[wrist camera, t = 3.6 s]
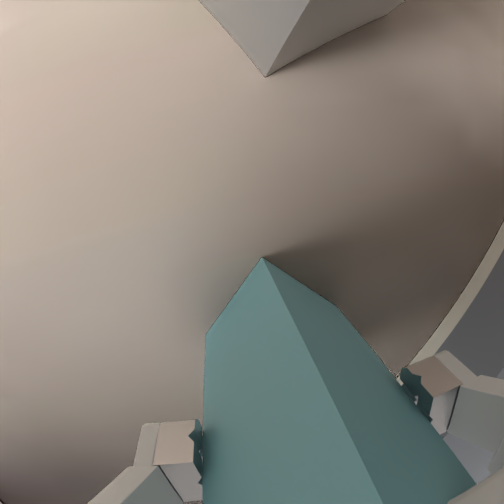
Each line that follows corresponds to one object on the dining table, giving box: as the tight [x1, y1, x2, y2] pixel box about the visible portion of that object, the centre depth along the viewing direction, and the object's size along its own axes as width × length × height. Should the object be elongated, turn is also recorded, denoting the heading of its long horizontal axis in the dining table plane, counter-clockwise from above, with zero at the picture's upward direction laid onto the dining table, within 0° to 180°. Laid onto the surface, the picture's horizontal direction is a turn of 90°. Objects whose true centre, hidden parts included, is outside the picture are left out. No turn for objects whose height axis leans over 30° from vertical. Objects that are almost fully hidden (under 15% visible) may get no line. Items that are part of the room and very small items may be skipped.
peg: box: [202, 258, 476, 504], centre depth 8 cm, size 4×4×12 cm
